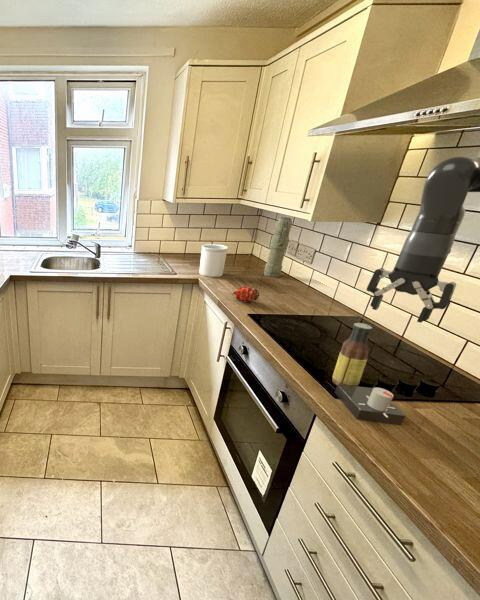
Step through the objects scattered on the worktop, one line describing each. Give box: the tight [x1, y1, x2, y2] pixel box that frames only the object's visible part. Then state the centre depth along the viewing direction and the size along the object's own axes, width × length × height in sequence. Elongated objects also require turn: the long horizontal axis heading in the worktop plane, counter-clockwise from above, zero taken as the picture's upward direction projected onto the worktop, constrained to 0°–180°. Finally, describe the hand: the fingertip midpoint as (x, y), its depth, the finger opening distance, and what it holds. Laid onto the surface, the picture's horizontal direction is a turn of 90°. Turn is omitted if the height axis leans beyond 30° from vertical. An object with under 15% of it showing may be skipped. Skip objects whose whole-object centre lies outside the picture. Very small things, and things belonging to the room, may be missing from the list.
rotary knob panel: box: [334, 384, 406, 426], centre depth 85 cm, size 10×13×3 cm
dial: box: [367, 386, 394, 412], centre depth 82 cm, size 4×4×5 cm
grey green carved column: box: [263, 216, 293, 279], centre depth 189 cm, size 9×12×35 cm
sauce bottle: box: [332, 322, 373, 387], centre depth 92 cm, size 7×6×20 cm
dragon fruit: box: [232, 285, 260, 304], centre depth 155 cm, size 8×8×12 cm
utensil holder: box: [198, 243, 229, 278], centre depth 195 cm, size 15×15×18 cm
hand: (396, 315), depth 79 cm, fingers open, 8 cm apart
